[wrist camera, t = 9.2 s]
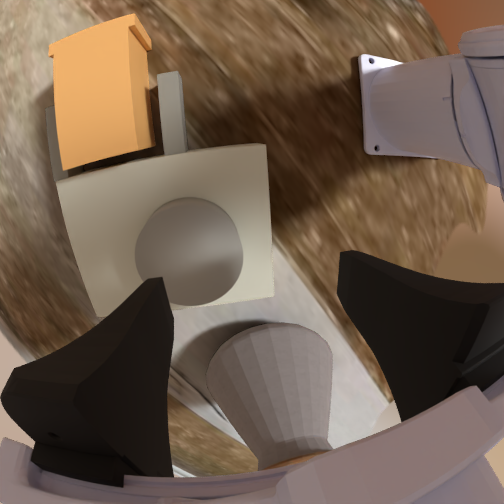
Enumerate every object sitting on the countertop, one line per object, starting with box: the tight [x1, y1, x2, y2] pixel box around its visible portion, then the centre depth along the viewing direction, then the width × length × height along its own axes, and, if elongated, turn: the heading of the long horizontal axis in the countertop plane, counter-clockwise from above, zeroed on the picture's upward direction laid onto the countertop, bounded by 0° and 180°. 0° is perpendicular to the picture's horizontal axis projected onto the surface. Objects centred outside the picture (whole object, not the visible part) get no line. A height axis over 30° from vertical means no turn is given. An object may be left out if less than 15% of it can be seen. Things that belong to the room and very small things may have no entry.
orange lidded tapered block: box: [49, 13, 156, 171], centre depth 12 cm, size 5×8×5 cm
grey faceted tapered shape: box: [206, 323, 334, 471], centre depth 21 cm, size 21×12×15 cm, turn 34°
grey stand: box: [45, 71, 274, 317], centre depth 16 cm, size 14×15×5 cm
